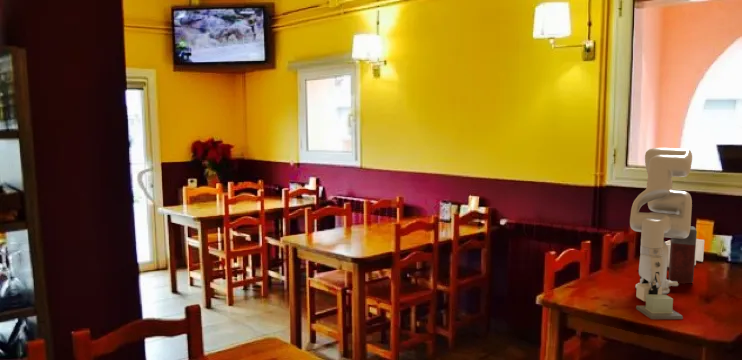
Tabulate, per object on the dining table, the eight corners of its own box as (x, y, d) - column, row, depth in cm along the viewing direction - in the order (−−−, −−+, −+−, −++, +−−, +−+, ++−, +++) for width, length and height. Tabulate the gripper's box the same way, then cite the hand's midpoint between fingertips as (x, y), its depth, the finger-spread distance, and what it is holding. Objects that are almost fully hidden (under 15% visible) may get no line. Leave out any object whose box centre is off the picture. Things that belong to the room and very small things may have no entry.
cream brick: (653, 295, 223) (654, 283, 222) (661, 300, 218) (662, 287, 217) (636, 296, 222) (636, 283, 221) (643, 301, 217) (644, 288, 216)
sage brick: (664, 308, 209) (665, 294, 209) (672, 312, 205) (673, 298, 204) (645, 307, 209) (646, 294, 209) (652, 312, 204) (653, 298, 204)
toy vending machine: (691, 277, 255) (695, 215, 253) (693, 284, 245) (697, 218, 242) (668, 275, 259) (672, 213, 256) (669, 281, 249) (673, 217, 246)
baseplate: (665, 308, 213) (665, 305, 213) (682, 319, 202) (682, 315, 202) (636, 308, 212) (636, 305, 212) (651, 319, 201) (651, 315, 201)
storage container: (679, 257, 294) (680, 236, 293) (702, 262, 286) (704, 240, 285) (659, 265, 277) (660, 243, 276) (683, 270, 269) (685, 247, 268)
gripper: (673, 257, 208) (670, 305, 211) (649, 244, 225) (647, 289, 228) (653, 257, 208) (650, 305, 211) (630, 244, 225) (628, 289, 228)
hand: (648, 296), depth 220 cm, fingers closed on cream brick, 5 cm apart
